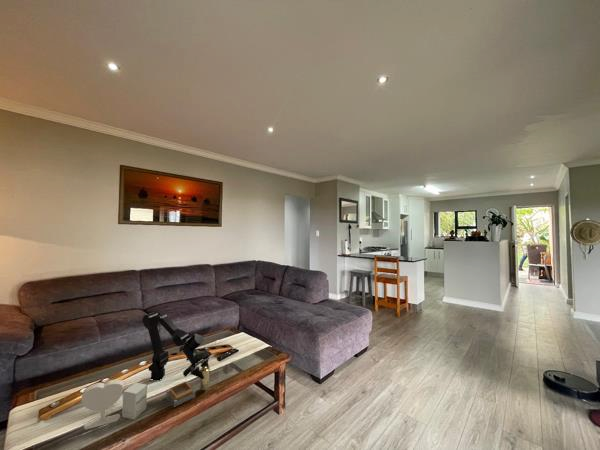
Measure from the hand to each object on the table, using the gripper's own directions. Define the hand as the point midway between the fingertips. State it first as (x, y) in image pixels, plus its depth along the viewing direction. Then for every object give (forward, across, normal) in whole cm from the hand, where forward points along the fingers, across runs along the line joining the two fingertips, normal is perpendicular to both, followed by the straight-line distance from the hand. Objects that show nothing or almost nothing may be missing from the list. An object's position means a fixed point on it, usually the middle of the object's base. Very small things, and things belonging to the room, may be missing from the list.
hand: (206, 376), depth 142 cm
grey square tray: (0, -9, +12) cm, 16 cm away
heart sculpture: (-16, -34, +29) cm, 47 cm away
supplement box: (-10, -25, +22) cm, 35 cm away
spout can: (+4, 0, +6) cm, 7 cm away
